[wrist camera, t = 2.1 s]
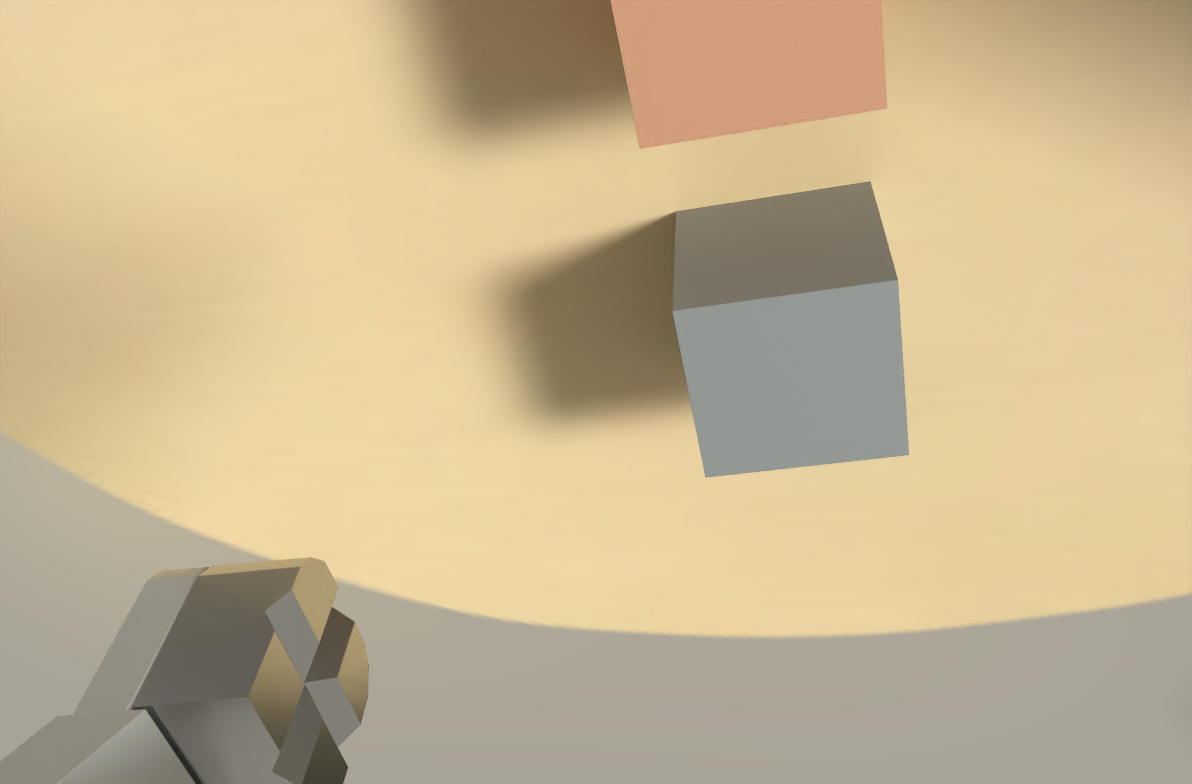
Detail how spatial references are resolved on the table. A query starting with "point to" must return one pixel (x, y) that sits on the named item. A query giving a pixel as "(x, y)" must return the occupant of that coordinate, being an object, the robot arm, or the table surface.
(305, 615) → the robot arm
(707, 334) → the slate block
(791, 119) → the terracotta block
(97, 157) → the table surface
